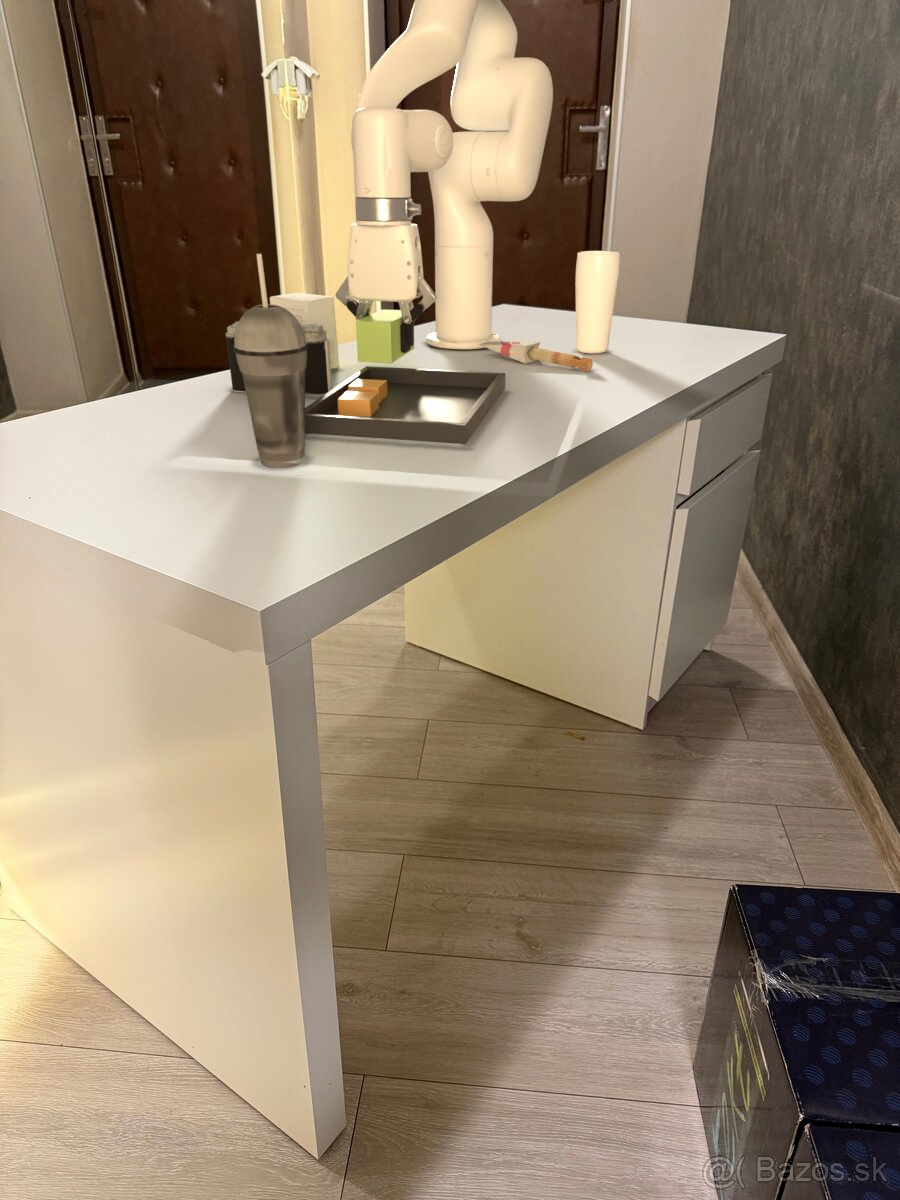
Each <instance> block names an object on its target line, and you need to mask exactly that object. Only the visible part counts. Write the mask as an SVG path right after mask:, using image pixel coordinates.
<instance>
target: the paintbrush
mask: <svg viewBox="0 0 900 1200" xmlns="http://www.w3.org/2000/svg"><path fill="white" fill-rule="evenodd" d="M479 345H481V346H483V347H486V348H485V349H488V350H491V351H494V352H496V353H498V354H501V355H503V356H505V357H508V358H510V359H513V360H514V361H517V362H519V363H522V364H524V365H525V364H530V363H533V362H536V361H540V362H544V363H548V364H549V363H550V364H554V365H558V366H559V365H560V366H564V367H568V368H573V369H574V368H578V369H579V370H583V371H587V372H589V371H591V370H592V368H593V365H594V360H593V359H592V358H590V357H585V356H584V357H580V356H579V355H575V354H569V353H564V352H561V351H555V350H550V349H545V348H540V345H541V341H500V342H486V343H482V344H479Z"/></svg>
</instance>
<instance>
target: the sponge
mask: <svg viewBox="0 0 900 1200" xmlns="http://www.w3.org/2000/svg"><path fill="white" fill-rule="evenodd" d="M402 319H403V317H402V314H401V310H400V309H384V308H383V309H380V310H378V311H375V312H374V313H370V315H369V316H367V317H364V318H362V319H360V320H358V321H357V320H356V321H355V328H356V351H357V352H356V353H357V362H359V363H376V364H393V363H395V362H396V361H398V360H399V359H401V358H402V357H404V356H405V355H407V354H408V353H410V352H412V351H413V350H415V343H414V344H413V346H411V349H410V350H409V351H408V352H406V353H402V352H401V340H400V325H401V324H402V323H403V321H402Z"/></svg>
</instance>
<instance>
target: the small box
mask: <svg viewBox="0 0 900 1200" xmlns="http://www.w3.org/2000/svg"><path fill="white" fill-rule="evenodd" d="M269 304H274V305H279V306H281V307H283V308H285V309H287V310H288V311H290V312H291V313H292V314H293V315H294V316H295V317H296V318H297V320H298V321H299V323H300V325H301V326H303V325H306V324H320V325H322V326H323V329H326V338H327V340H329V348H330V362H331V370H332V369H337V368H340V358H339V345H338V333H337V320H336V310H335V309H336V307H335V297H334V296H330V295H320V294H313V293H312V294H311V293H303V292H292V293H287V294H286V293H285V294H278V295H273V296H270V297H269Z"/></svg>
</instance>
